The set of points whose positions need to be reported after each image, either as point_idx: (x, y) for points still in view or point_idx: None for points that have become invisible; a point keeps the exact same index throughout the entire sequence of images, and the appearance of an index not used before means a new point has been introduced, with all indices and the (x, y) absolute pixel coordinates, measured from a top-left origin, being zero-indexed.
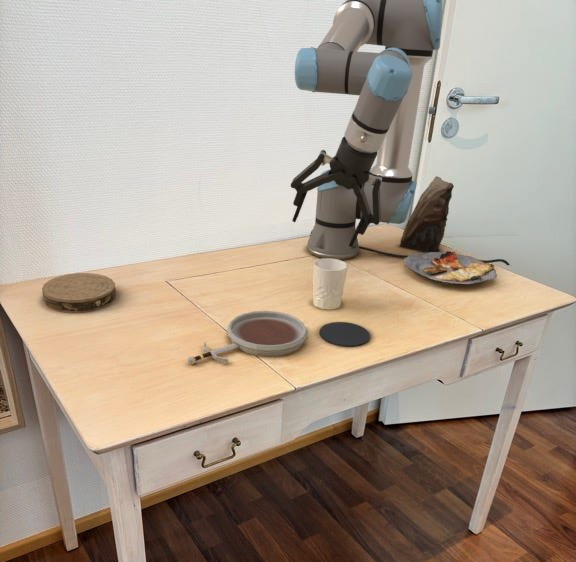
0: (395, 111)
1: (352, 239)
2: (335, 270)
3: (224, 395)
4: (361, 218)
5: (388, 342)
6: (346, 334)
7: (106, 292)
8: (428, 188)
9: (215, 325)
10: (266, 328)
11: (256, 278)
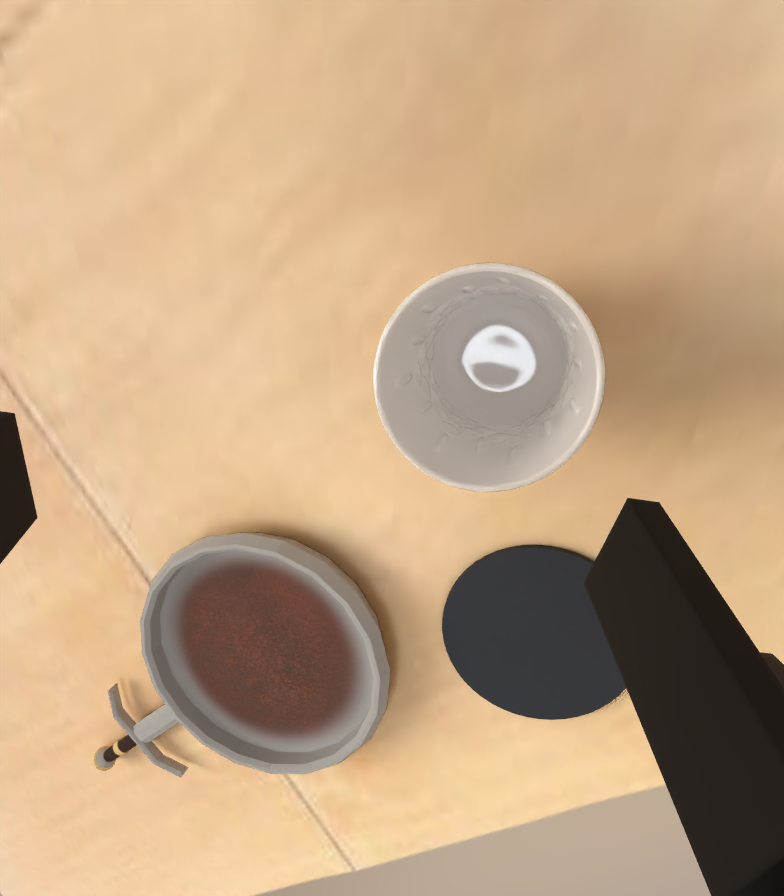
0: None
1: (614, 647)
2: (502, 488)
3: (207, 872)
4: (767, 869)
5: None
6: (543, 647)
7: None
8: None
9: (116, 552)
10: (258, 625)
11: (174, 76)
